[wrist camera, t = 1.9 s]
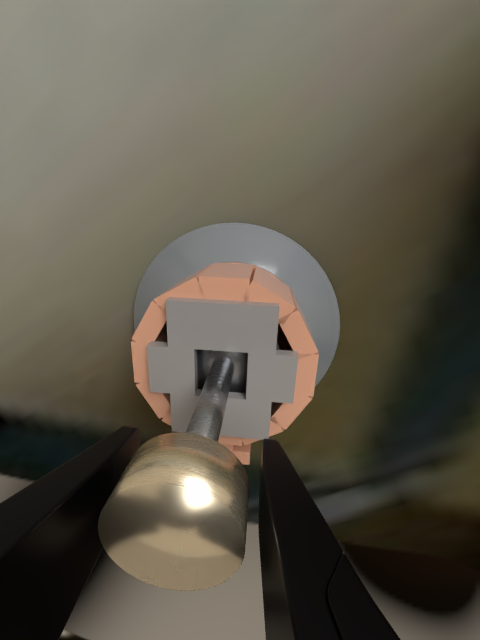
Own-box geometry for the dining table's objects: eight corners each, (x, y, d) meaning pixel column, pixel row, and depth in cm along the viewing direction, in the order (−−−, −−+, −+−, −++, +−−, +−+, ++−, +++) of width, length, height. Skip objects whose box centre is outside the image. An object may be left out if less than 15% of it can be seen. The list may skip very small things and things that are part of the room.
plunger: (277, 416, 14) (289, 636, 7) (170, 406, 14) (66, 606, 7) (287, 311, 12) (317, 449, 5) (165, 304, 13) (20, 423, 5)
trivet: (323, 419, 19) (325, 425, 18) (144, 404, 20) (141, 409, 19) (353, 226, 15) (356, 227, 15) (129, 218, 16) (124, 218, 15)
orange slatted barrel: (293, 423, 19) (302, 493, 14) (170, 412, 19) (138, 476, 14) (311, 265, 15) (331, 285, 11) (163, 258, 16) (118, 274, 11)
